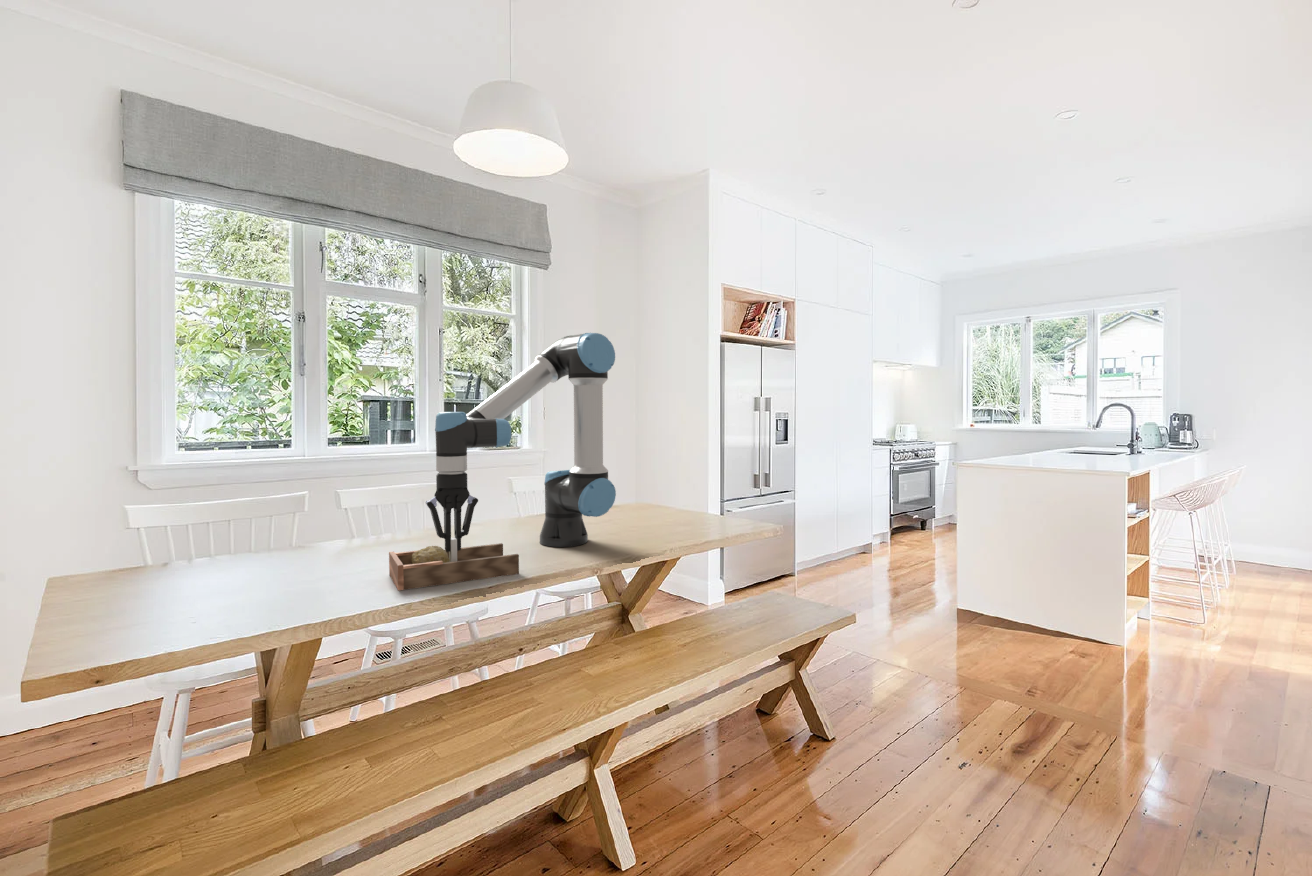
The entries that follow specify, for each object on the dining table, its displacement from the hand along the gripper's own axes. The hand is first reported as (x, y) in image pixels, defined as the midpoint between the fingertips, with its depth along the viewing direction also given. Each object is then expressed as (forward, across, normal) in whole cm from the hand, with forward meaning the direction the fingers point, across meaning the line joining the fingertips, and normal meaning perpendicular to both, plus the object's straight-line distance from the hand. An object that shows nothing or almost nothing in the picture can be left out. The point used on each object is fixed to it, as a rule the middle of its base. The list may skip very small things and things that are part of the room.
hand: (453, 563), depth 160 cm
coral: (+3, +6, 0) cm, 6 cm away
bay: (+3, -1, 0) cm, 3 cm away
